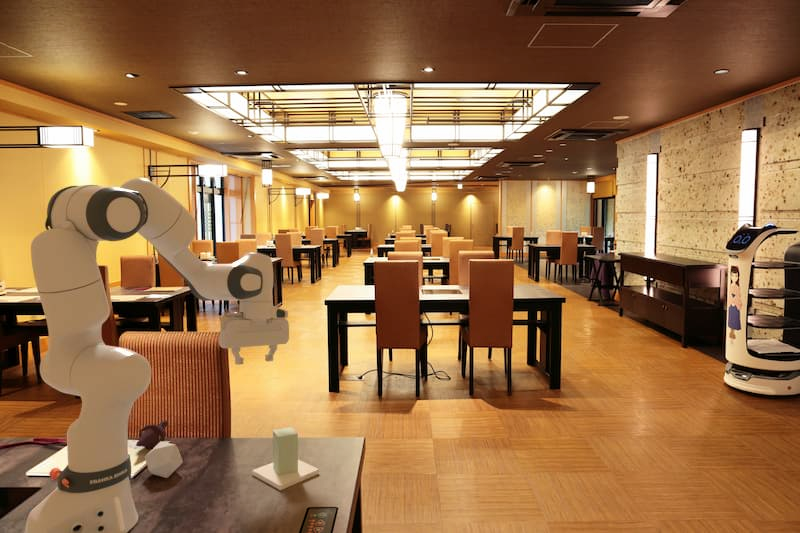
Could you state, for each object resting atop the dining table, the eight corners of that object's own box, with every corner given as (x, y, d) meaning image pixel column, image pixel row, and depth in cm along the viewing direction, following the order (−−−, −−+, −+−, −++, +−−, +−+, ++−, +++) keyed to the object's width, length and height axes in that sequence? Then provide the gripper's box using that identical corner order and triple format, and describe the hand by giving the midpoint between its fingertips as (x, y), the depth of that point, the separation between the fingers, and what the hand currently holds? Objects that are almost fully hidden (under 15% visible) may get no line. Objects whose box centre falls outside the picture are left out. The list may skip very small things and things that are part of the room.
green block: (278, 475, 136) (278, 437, 135) (273, 467, 141) (272, 430, 140) (297, 471, 139) (297, 433, 138) (292, 463, 143) (291, 427, 142)
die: (190, 473, 141) (183, 437, 145) (175, 470, 133) (168, 432, 137) (159, 485, 141) (153, 449, 145) (142, 483, 133) (136, 445, 137)
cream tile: (280, 490, 131) (280, 485, 131) (252, 474, 139) (252, 470, 139) (318, 473, 140) (318, 469, 140) (290, 459, 148) (290, 455, 148)
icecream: (153, 436, 147) (179, 421, 162) (127, 428, 148) (156, 414, 163) (146, 461, 147) (173, 443, 162) (121, 453, 148) (150, 436, 163)
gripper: (227, 313, 139) (226, 367, 138) (292, 311, 154) (291, 360, 154) (215, 312, 143) (213, 365, 143) (279, 310, 158) (278, 358, 158)
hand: (254, 362), depth 148 cm, fingers open, 8 cm apart
